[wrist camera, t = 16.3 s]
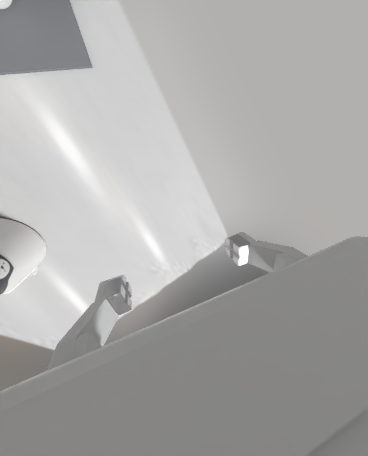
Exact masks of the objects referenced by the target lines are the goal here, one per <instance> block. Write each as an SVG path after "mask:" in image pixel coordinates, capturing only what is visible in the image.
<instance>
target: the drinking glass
mask: <svg viewBox="0 0 368 456" xmlns="http://www.w3.org/2000/svg"><path fill="white" fill-rule="evenodd" d="M11 3H12V0H0V9H6V8H8V7H9V6H10V5H11Z"/></svg>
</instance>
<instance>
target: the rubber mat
mask: <svg viewBox="0 0 368 456" xmlns="http://www.w3.org/2000/svg"><path fill="white" fill-rule="evenodd" d="M81 68H93V67H92V65H91V62H90V59H89V56H88V53H87V50H86V47H85V44H84V42H83V39H82V36H81V33H80V30H79V27H78V24H77V21H76V19H75V16H74V13H73V10H72V7H71V4H70V1H69V0H12V3H11V5H10V6H9V7H8V8H6V9H0V75H5V74H18V73H31V72H43V71H56V70H69V69H81Z"/></svg>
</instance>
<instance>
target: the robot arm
mask: <svg viewBox="0 0 368 456" xmlns="http://www.w3.org/2000/svg"><path fill="white" fill-rule="evenodd" d="M225 243H226V244H227V245H226V247H225V249H226V252H227V254H228V256H229V257H231V258H233V261H234V262H235V263H236V264H237V265H238V266H240V265H243V264H246V263H249V264H252V265H254V266H257V267H259V268H262V269H264V270H266V271H269V272H271V273H269V274H267V275H264V276H262V277H260V278H258V279H255V280H253V281H251V282H248V283H246V284H244V285H242V286H239V287H237V288H235V289H232V290H230V291H228V292H226V293H224V294H221V295H219V296H217V297H214V298H212V299H210V300H208V301H205V302H203V303H201V304H198V305H196V306H194V307H192V308H189V309H187V310H185V311H182V312H180V313H178V314H176V315H174V316H171V317H169V318H167V319H165V320H162V321H160V322H158V323H156V324H153V325H151V326H148V327H146V328H144V329H142V330H139V331H137V332H135V333H132V334H130V335H128V336H126V337H123V338H121V339H119V340H117V341H114V342H112V343H110V344H107V345H105V346H103V345H104V343H105V341H106V340H107V338H108V335H109V334H110V332H111V330H112V328H113V326H114V324H115V322H116V320H117V318H118V315H121V314H123V313H125V312H128V311H130V310H131V303H132V301H131V299H130V297H131V296H132V292H131V287H130V284H129V283H128V282H126V277H125V276H124V275H121V276H118V277H115V278H112V279H109V280H106V281H103V282H101V283H100V284H99V288H98V291H97V295H96V299H95V302H94V303H93V304H91V305H90V307H89V308H88V309H87V310H86V311H85V312H84V314H83V315H82V316H81V317H80V318H79V320H78V321H77V322H76V323H75V324H74V325H73V327H72V328H71V329H70V330H69V331H68V332H67V334H66V335H65V336H64V337H63V338H62V339H61V341H60V342H59V343H58V344H57V346H56V349H55V351H54V354H53V356H52V359H51V361H50V364H49V366H48V368H47V371H46V372H44V373H42V374H40V375H37V376H35V377H33V378H31V379H28V380H26V381H23V382H21V383H19V384H17V385H15V386H12V387H10V388H7V389H5V390H3V391H1V392H0V456H368V237H359V236H356V237H351V238H348V239H346V240H344V241H342V242H339V243H337V244H335V245H332V246H330V247H328V248H326V249H324V250H321V251H319V252H317V253H314V254H312V255H310V256H307V255H305V254H303V253H302V252H300V251H298V250H297V249H295V248H293V247H289V246H283V245H278V244H273V243H268V242H263V241H256V240H254V239H253V238H251V237H250V236H248V235H247V234H245V233H244V232H240V233H238V234H236V235H233V236H230V237H227V238H226V239H225ZM45 254H46V246H45V243H44V241H43V239H42V238H41V237H40V235H39V234H38V233H36V232H35V231H34V230H32V229H31V228H29V227H28V226H26V225H24V224H21V223H19V222H16V221H13V220H9V219H3V218H0V296H1V295H3V294H8V293H10V292H11V291H12V290H13V289H15V288H16V287H17V286H18V285H19V284H20V283H21V282H22V281H23V280H24V279H25V278H27V277H32V276H34V275H35V274H37V272H38V269H39V264H40V262H41V261H42V260H43V259H44V257H45Z"/></svg>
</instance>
